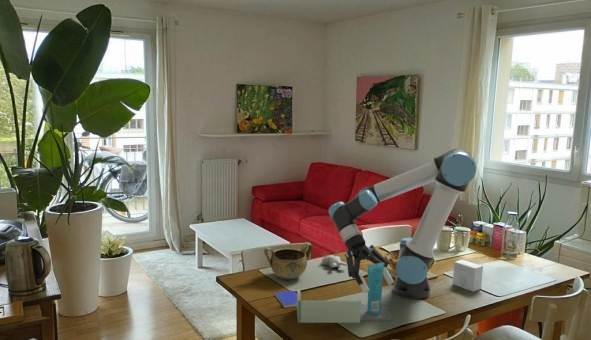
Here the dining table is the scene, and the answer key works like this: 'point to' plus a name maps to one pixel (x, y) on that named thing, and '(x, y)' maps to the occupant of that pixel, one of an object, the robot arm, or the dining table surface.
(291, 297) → the hard drive
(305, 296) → the dining table surface
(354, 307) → the l-shaped block
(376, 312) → the tube
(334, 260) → the bunny figurine
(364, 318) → the mat
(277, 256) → the ceramic bowl
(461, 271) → the skincare box
